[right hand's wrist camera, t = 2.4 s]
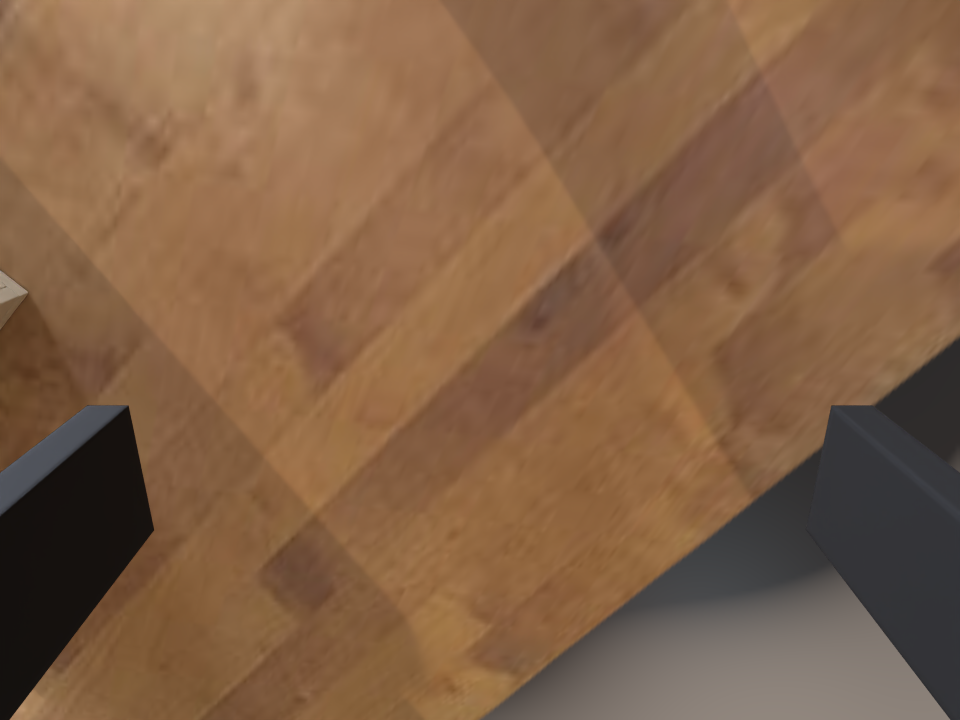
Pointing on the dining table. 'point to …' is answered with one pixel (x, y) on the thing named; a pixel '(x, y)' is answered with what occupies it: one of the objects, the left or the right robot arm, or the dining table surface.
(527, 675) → the dining table surface
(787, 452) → the dining table surface
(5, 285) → the cabinet
